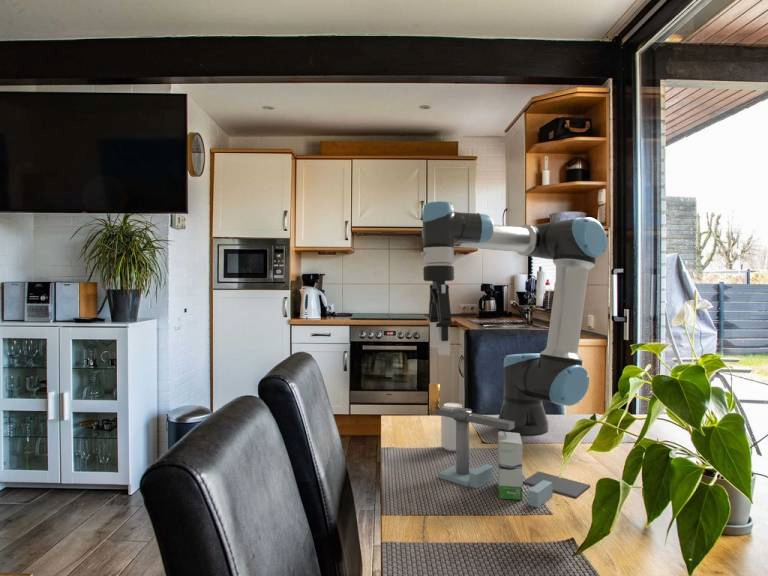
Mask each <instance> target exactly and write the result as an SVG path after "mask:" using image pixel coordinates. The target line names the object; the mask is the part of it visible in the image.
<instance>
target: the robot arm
mask: <svg viewBox="0 0 768 576" xmlns="http://www.w3.org/2000/svg"><path fill="white" fill-rule="evenodd" d="M422 210H423V211H422V220H421V222H422V230H421V238H422V247H423V251H421V253H420V256H422V257H423V265H425V266H423V269H422V271H423V273H422V274H423V281H424V282H432V284H430V285H429V304H428V315H427V317H428V318H427V319H428V320H429V347H430V348H437V355H438V356H450V355H451V326H452V324H453V321H452V314H451V313H452V312H451V302H450V293H449V292H450V291H449V289H450V287H449V284H446V282H453V281H454V280H455V267H454V266H453V265H452V264H454V263H455V248H465V249H466V248H467V249H478V250H491V251H503V252H512V253H513V252H515V253H516V254H518V255H520V256H522V257H523V256H524V257H532V258H533V257H534V258H538V259H540V258H541V259H546V260H552V263H553V264H554V266H556V269H557V270H556V277H555V283H554V284H555V285H554V292H553V297H552V305H551V313H550V319H549V328H548V335H547V342H546V347H545V349H544V350H543V351H540V353H539V352H537V353H536V352H535V353H532V352H531V353H515V354H508V355H505V357H504V359H503V367H502V369H503V370H502V372H503V374H502V375H503V377H502V379H503V381H502V382H503V403H502V405H501V410H500V412H499V415H498V418H499V419H504V420H509V421H514V425H515V428H514V429H511V430H505V429H501V430H502V431H503V432H512V433H520V435H541V434H545V433H547V432H548V431H549V419H548V417H547V414H546V411H545V408H544V405H543V401H544V402H549V403H553V404H554V405H560V406H565V407H566V406H567V407H571V406H574V405H576V404H579V403H580V401H581V400H583V399H584V397H585V396H586V394H587V392H588V389H589V386H590V376H589V375H588V374H589V373H588V371H587V369H586V368H585V367H584V366H583V358H582V357H581V355H579V346H580V345H579V344H580V338H581V332H582V331H581V329H582V322H583V315H584V309H585V308H584V306H585V302H586V301H585V299H586V291H587V284H588V277H589V276H588V275H589V271H590V270H592V269H593V268H594V267H595V266H596V260H597V258H599V257H601V256H602V255H604V253H605V252H606V250H607V246H608V237H607V233H606V231H605V229H604V227H603V225H602V224H601V223H600V221H598V220H597V219H595V218H594V217H576V218H573V219H564V220H558V221H550V222H546V223H541V224H522V225H520V226H514V225H513V226H511V225H503V224H494V221H493V219H492V217H491V216H490V215H489V214H484V213H479V212H477V213H476V212H475V213H474V212H473V213H472V212H458V211H455V210H454V205H453V203H452V202H449V201H431V202H428V203H425V204H424V206H423V209H422Z"/></svg>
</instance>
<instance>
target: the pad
mask: <svg viewBox="0 0 768 576" xmlns="http://www.w3.org/2000/svg"><path fill="white" fill-rule="evenodd" d="M559 477H561V478H559ZM543 480H545V481H549V482H553V493H557V494H560V495H563V496H566V497H570V498H574V499H578V497H579V496H581V495H582V494H584V492H586V491H588V489H590V488H591V485H590V484H589V483H588V484H587V483H584V482H579V481H577V480H573V479H569V478H565V477H563V476H558V475H554V474H550V473H546V472H543V471H536V472H535V473H533V474H532V475H530V476H529V477H527V478H526V479H524V480H522V484H525V485H527V486H531V487H534V486H535V485H537V484H538V483H540V482H541V481H543Z"/></svg>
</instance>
